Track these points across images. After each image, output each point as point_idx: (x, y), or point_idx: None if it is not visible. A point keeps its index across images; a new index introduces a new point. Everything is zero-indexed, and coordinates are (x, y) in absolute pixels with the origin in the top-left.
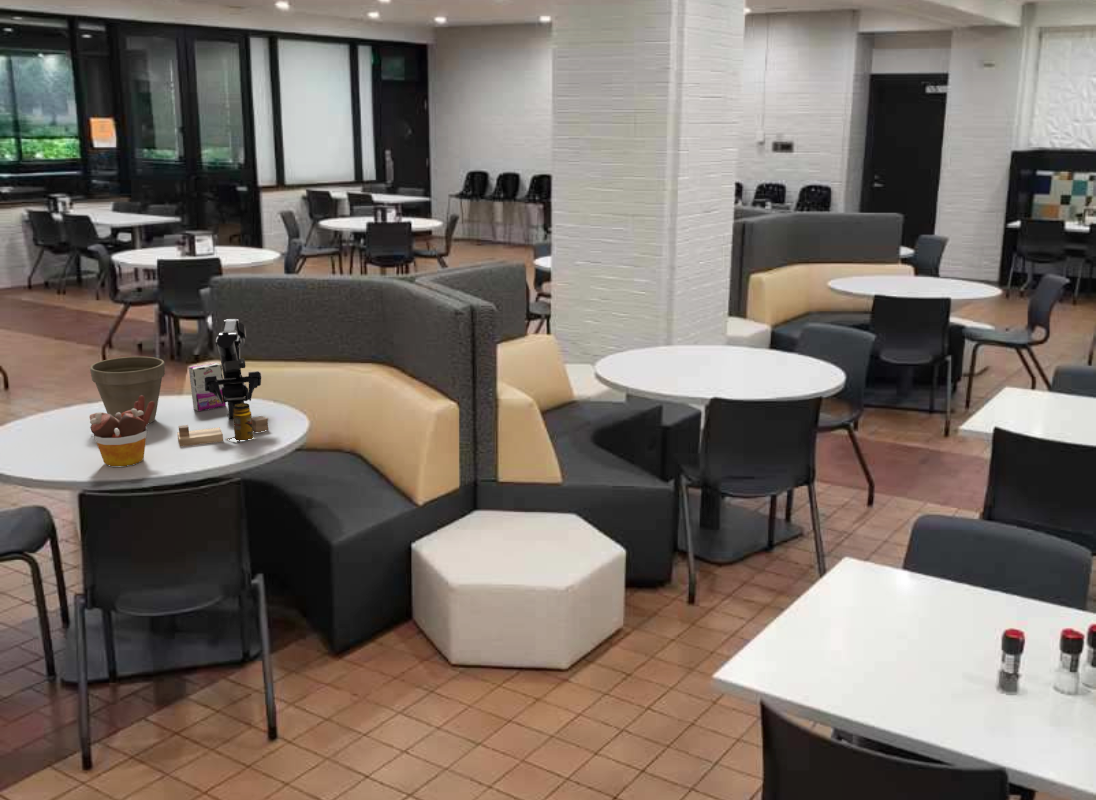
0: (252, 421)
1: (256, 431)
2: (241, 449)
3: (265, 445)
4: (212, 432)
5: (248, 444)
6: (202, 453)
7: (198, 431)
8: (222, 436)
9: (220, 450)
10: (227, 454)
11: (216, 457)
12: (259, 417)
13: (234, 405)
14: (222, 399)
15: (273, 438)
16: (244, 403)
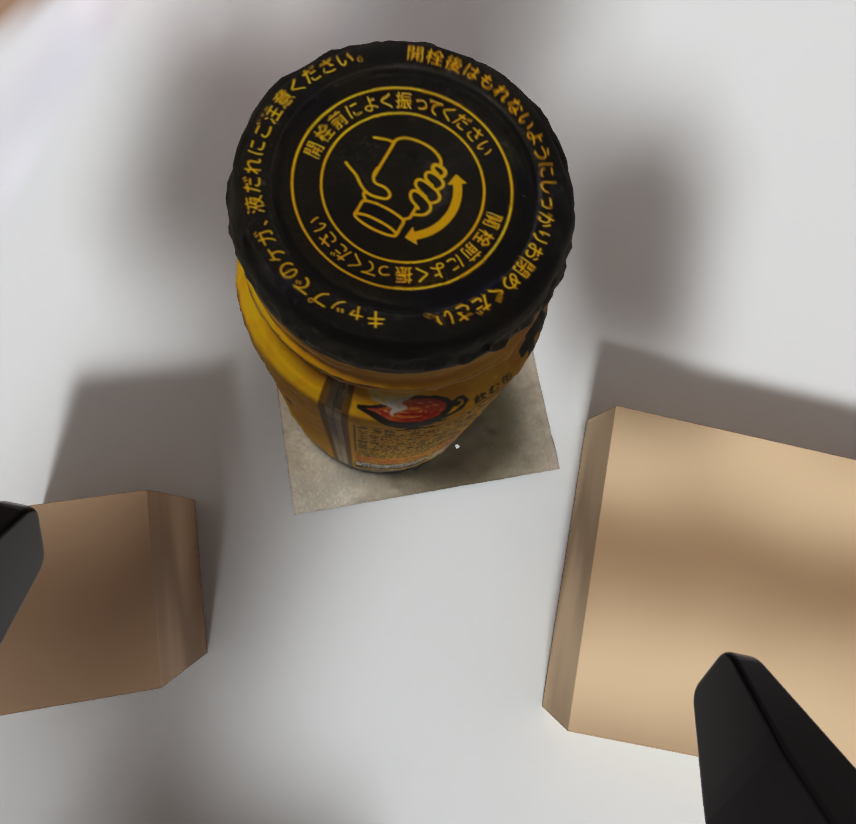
0: (162, 594)
1: (188, 503)
2: (519, 75)
3: (298, 49)
4: (698, 551)
5: None
6: (830, 177)
7: (829, 704)
8: (611, 410)
9: (681, 161)
10: (658, 24)
11: (752, 8)
12: (11, 654)
13: (552, 230)
14: (768, 714)
15: (136, 206)
16: (298, 257)
